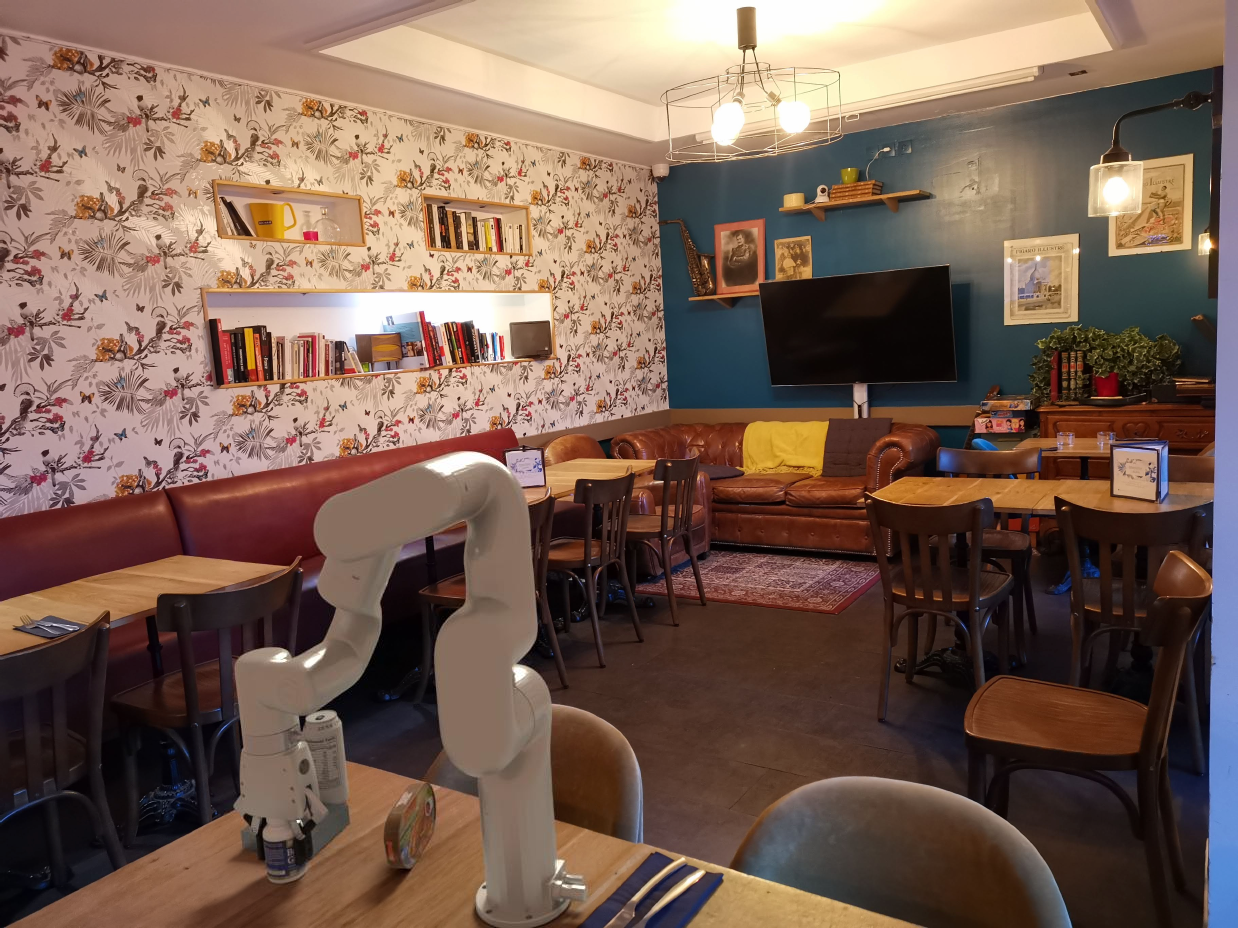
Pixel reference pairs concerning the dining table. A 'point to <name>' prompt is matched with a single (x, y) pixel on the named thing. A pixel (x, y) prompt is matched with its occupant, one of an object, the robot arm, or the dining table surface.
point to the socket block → (320, 833)
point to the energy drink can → (327, 755)
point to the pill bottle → (281, 851)
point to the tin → (410, 825)
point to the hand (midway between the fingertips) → (286, 856)
